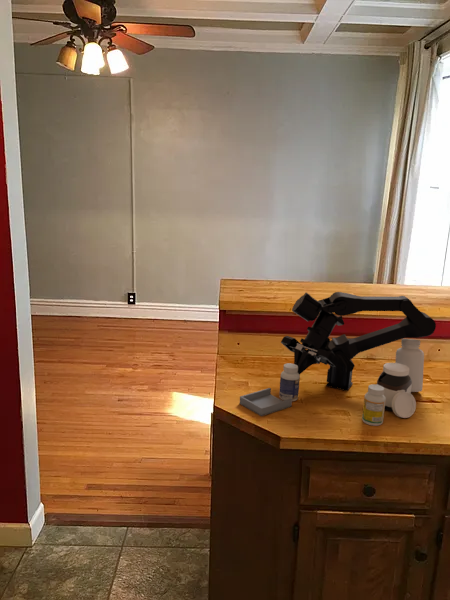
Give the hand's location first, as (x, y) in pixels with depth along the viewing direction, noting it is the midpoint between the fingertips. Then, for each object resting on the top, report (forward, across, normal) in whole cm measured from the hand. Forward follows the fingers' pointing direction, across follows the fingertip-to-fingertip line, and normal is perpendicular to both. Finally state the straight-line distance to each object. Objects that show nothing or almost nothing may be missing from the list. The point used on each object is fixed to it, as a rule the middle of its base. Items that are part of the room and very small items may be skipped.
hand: (294, 375), depth 154 cm
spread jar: (-6, -22, -18) cm, 29 cm away
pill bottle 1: (+6, -1, -1) cm, 7 cm away
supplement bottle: (+2, -24, -8) cm, 25 cm away
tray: (+12, -1, +6) cm, 13 cm away
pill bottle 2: (-15, -17, -27) cm, 35 cm away
